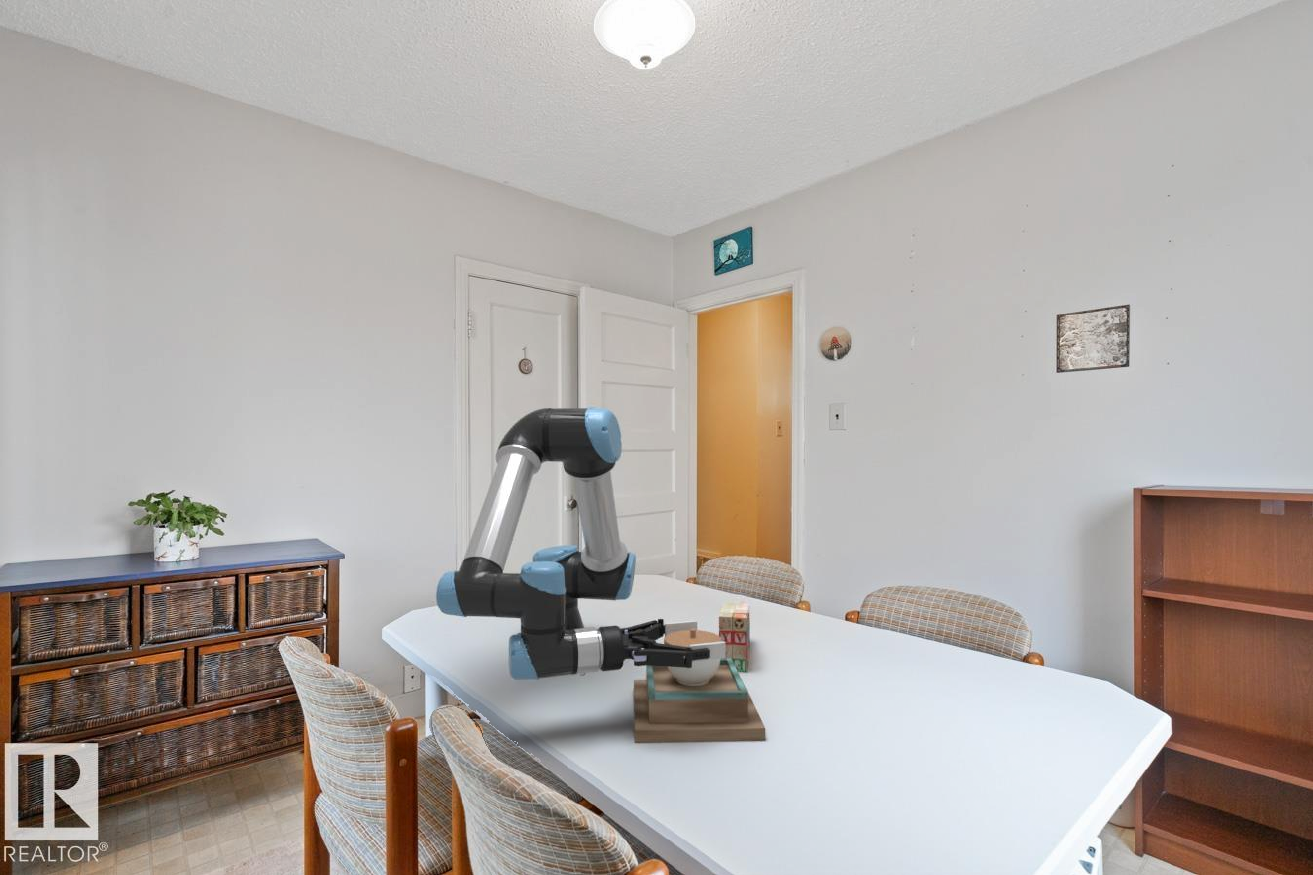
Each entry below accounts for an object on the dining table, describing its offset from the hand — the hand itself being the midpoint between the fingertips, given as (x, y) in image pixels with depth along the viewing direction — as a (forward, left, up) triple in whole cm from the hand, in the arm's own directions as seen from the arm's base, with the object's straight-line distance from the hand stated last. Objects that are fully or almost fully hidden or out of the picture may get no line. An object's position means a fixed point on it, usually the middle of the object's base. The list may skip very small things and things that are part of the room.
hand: (710, 638), depth 115 cm
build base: (+1, -3, -13) cm, 14 cm away
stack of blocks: (-30, +10, -14) cm, 34 cm away
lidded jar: (+1, -3, -8) cm, 8 cm away
